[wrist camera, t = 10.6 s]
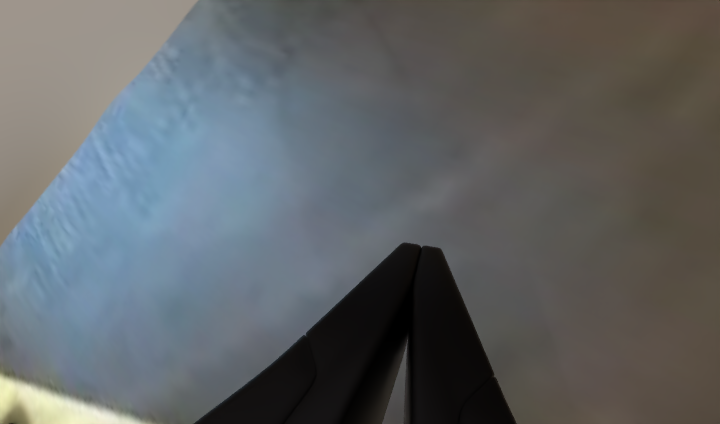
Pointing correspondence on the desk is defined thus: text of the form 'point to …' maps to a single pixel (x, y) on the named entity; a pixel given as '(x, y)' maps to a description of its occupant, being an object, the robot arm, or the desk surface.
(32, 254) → the desk surface
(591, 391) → the desk surface
